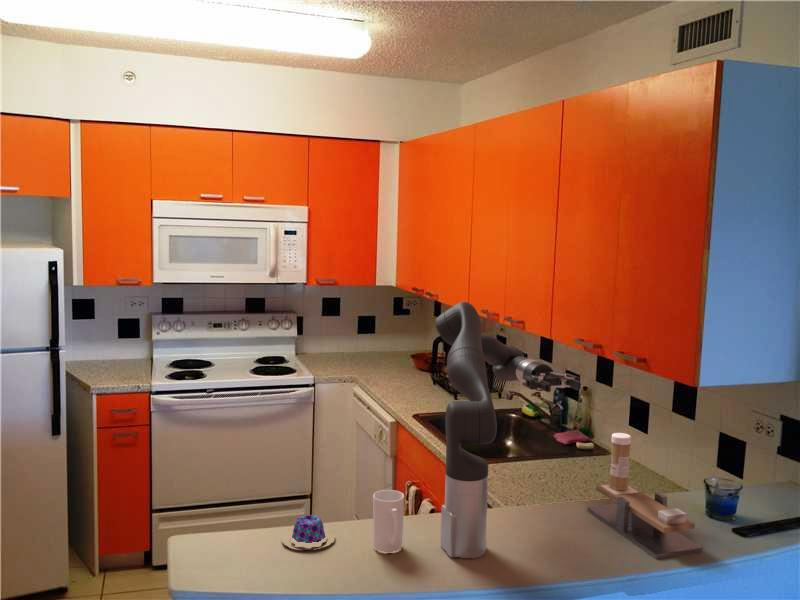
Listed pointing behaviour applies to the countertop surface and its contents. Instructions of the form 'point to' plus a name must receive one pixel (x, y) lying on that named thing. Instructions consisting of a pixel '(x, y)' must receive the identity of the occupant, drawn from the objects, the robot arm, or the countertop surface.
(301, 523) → the pudding
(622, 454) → the sprinkles bottle
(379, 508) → the mug
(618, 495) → the balance beam
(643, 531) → the stand
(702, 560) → the countertop surface
